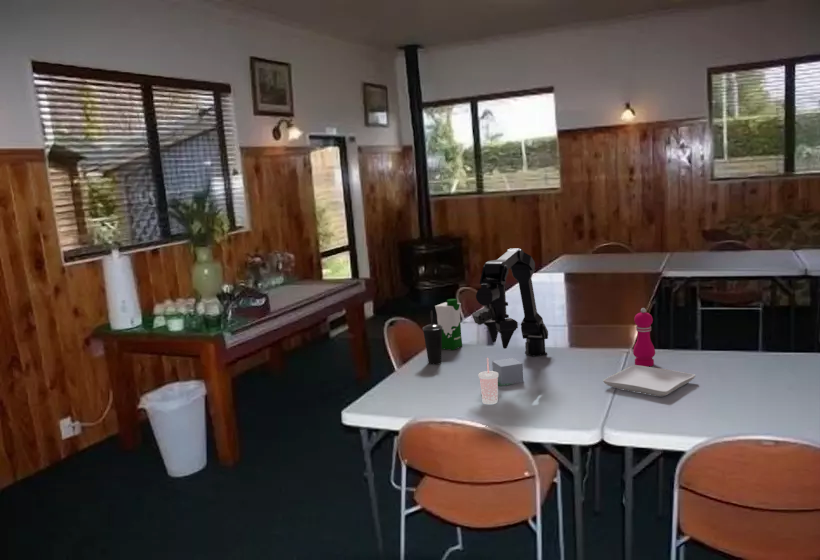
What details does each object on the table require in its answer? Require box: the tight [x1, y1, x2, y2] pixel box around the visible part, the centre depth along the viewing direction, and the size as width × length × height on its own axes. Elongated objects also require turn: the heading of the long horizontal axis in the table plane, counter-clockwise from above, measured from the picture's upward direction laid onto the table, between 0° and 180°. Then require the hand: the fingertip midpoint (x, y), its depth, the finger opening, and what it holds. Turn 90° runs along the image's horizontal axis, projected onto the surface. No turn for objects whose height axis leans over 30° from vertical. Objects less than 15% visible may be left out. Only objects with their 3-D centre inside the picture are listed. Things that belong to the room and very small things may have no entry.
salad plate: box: [602, 364, 696, 397], centre depth 211 cm, size 21×21×3 cm
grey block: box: [491, 357, 524, 385], centre depth 227 cm, size 8×8×6 cm
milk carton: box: [434, 298, 463, 351], centre depth 274 cm, size 9×9×20 cm
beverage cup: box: [477, 357, 499, 405], centre depth 206 cm, size 6×6×14 cm
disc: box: [498, 382, 512, 387], centre depth 226 cm, size 9×9×1 cm
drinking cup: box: [422, 310, 443, 365], centre depth 253 cm, size 8×8×20 cm
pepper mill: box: [632, 307, 656, 367], centre depth 232 cm, size 7×7×20 cm
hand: (499, 345), depth 224 cm, fingers open, 9 cm apart
